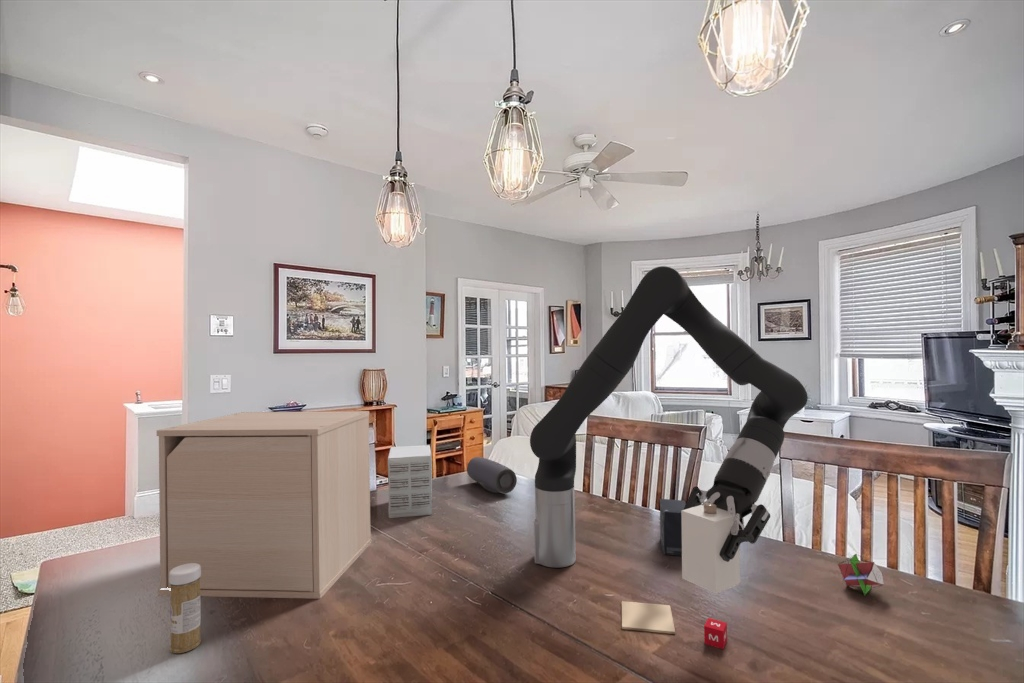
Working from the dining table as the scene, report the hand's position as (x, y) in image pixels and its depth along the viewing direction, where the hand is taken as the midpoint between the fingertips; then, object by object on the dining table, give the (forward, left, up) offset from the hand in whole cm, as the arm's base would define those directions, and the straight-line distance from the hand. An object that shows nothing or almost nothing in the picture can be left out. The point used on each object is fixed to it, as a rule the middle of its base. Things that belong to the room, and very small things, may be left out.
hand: (704, 550), depth 83 cm
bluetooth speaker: (-59, +84, -16) cm, 104 cm away
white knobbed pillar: (+1, +1, -5) cm, 6 cm away
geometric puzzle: (+33, +25, -16) cm, 45 cm away
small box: (-1, +41, -16) cm, 44 cm away
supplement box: (-79, +60, -16) cm, 100 cm away
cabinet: (-93, +15, -16) cm, 95 cm away
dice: (+2, +2, -16) cm, 16 cm away
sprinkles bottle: (-87, -16, -16) cm, 90 cm away
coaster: (-9, +7, -16) cm, 20 cm away
